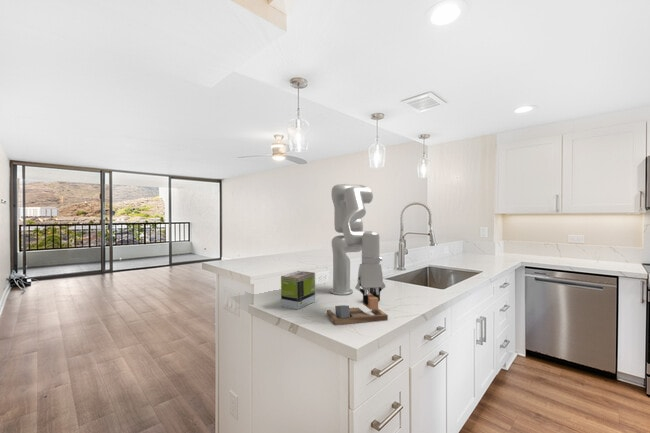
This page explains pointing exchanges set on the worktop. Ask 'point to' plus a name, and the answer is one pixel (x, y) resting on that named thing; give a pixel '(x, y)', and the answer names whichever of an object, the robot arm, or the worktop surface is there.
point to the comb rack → (358, 316)
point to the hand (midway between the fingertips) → (370, 303)
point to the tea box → (297, 289)
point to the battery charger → (371, 291)
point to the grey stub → (342, 311)
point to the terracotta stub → (372, 302)
